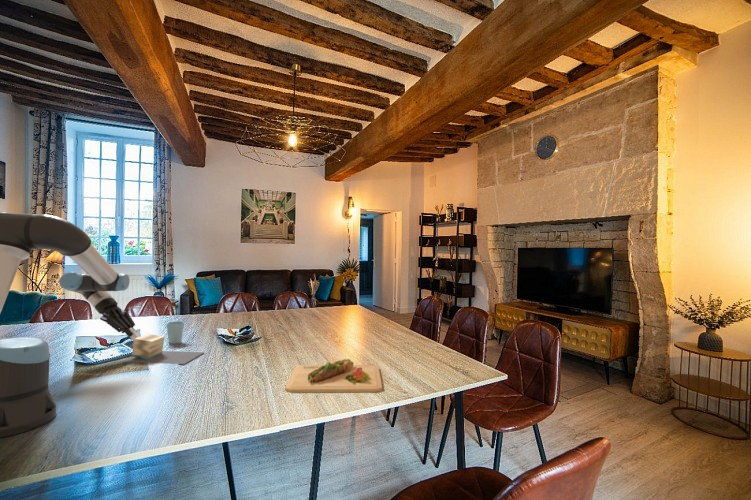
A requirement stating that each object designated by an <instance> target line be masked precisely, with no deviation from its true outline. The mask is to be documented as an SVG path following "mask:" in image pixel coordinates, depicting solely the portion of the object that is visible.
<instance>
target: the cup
mask: <svg viewBox="0 0 751 500" xmlns="http://www.w3.org/2000/svg"><path fill="white" fill-rule="evenodd" d="M184 325H185V321H180V320H179V321H178V320H177V321H171V322H167V323H166V330H167V339H168V340H167V341H168V343H169V344H170V345H171V344H173V345H174V344H181V343H182V340H183V332H184Z"/></svg>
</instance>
